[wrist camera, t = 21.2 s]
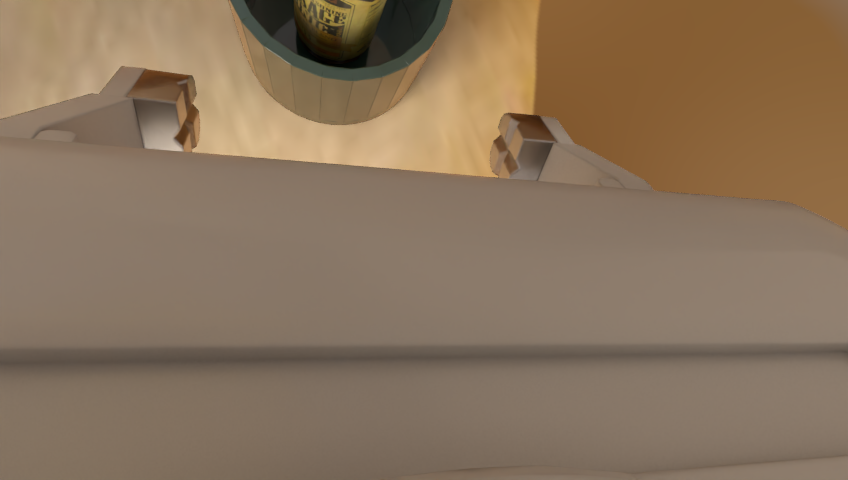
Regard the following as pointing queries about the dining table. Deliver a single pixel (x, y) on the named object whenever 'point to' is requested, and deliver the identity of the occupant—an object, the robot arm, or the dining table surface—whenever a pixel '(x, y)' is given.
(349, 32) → the sauce bottle
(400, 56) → the bottle cooler
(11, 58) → the dining table surface
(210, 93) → the dining table surface
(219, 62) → the dining table surface
